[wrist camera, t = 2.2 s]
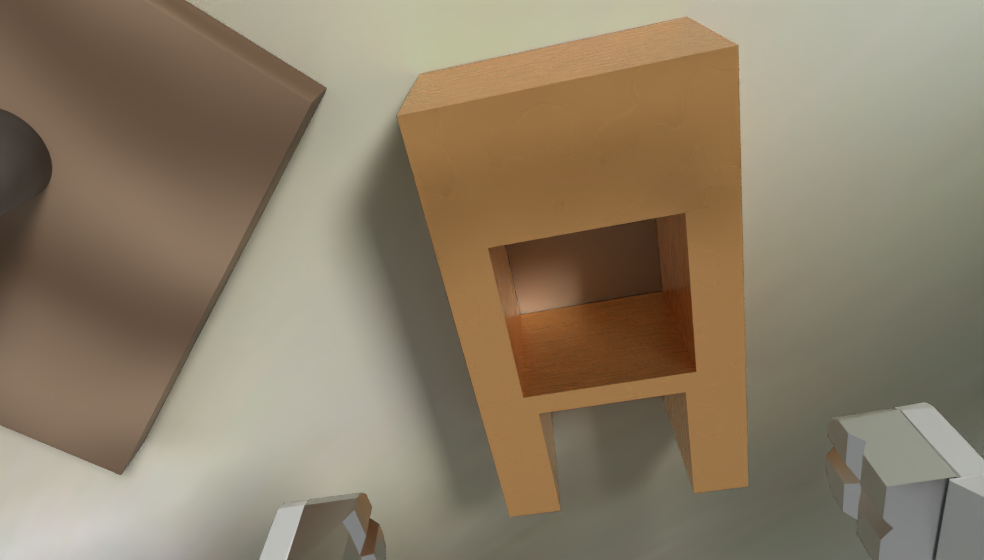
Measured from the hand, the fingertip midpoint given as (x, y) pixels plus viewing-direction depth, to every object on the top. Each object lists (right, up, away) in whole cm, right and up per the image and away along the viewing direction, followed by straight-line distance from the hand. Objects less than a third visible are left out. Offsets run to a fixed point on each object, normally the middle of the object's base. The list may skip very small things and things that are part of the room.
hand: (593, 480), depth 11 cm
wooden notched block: (+1, +5, +8) cm, 9 cm away
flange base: (-15, +6, +7) cm, 18 cm away
